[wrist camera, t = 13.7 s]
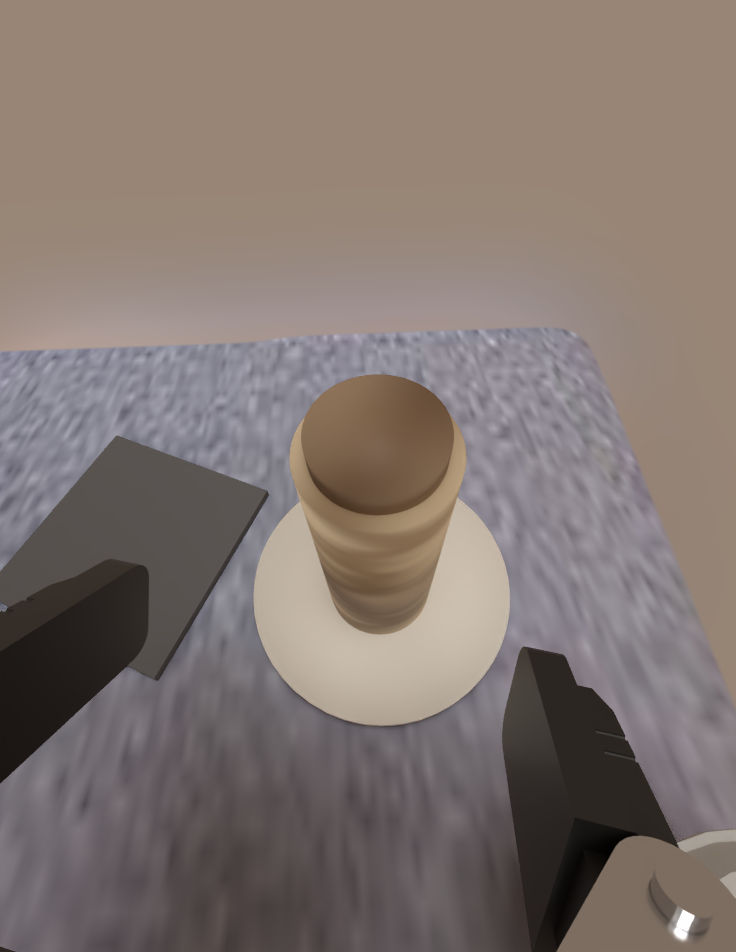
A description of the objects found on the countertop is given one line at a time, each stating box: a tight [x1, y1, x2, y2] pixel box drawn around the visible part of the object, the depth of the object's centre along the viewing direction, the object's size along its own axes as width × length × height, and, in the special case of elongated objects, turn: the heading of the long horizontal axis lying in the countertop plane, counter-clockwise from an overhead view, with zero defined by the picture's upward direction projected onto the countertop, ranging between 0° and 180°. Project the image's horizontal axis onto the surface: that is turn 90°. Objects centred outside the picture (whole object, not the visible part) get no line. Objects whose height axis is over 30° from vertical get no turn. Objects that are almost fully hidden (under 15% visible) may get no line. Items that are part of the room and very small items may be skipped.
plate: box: [254, 498, 510, 726], centre depth 26 cm, size 14×14×1 cm
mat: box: [0, 436, 269, 680], centre depth 28 cm, size 12×12×1 cm
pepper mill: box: [290, 375, 466, 635], centre depth 19 cm, size 5×5×14 cm
